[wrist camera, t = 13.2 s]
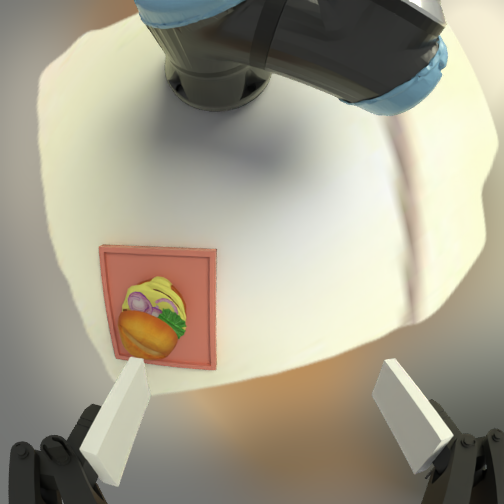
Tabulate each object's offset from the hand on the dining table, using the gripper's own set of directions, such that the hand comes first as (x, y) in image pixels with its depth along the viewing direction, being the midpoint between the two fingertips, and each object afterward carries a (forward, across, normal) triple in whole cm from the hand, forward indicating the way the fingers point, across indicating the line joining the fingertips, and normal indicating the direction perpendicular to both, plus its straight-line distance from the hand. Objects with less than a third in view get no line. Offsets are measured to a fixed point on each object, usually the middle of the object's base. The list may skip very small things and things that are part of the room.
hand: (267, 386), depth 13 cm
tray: (+27, -14, -9) cm, 31 cm away
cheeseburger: (+26, -14, -9) cm, 31 cm away
